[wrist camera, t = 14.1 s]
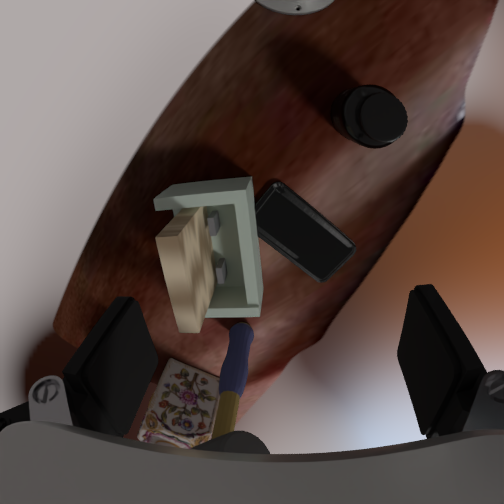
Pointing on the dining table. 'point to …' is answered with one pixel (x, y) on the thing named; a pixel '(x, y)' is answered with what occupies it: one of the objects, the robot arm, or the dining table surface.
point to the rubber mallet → (233, 398)
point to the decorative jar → (181, 407)
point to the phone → (301, 233)
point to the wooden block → (188, 266)
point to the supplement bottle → (369, 116)
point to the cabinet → (226, 240)
